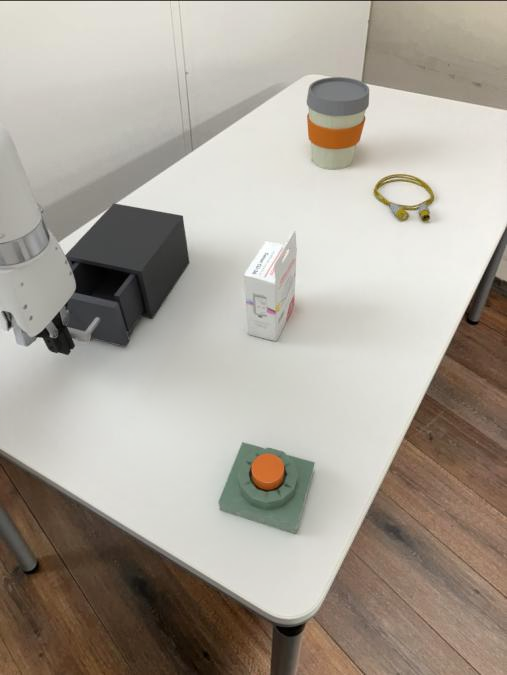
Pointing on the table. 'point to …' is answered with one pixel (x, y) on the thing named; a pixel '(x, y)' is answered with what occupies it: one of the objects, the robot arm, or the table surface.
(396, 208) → the extension cord
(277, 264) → the ink cartridge box
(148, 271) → the black hollow box
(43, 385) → the table surface
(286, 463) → the control box
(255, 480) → the button
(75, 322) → the drawer
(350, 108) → the reusable coffee cup
